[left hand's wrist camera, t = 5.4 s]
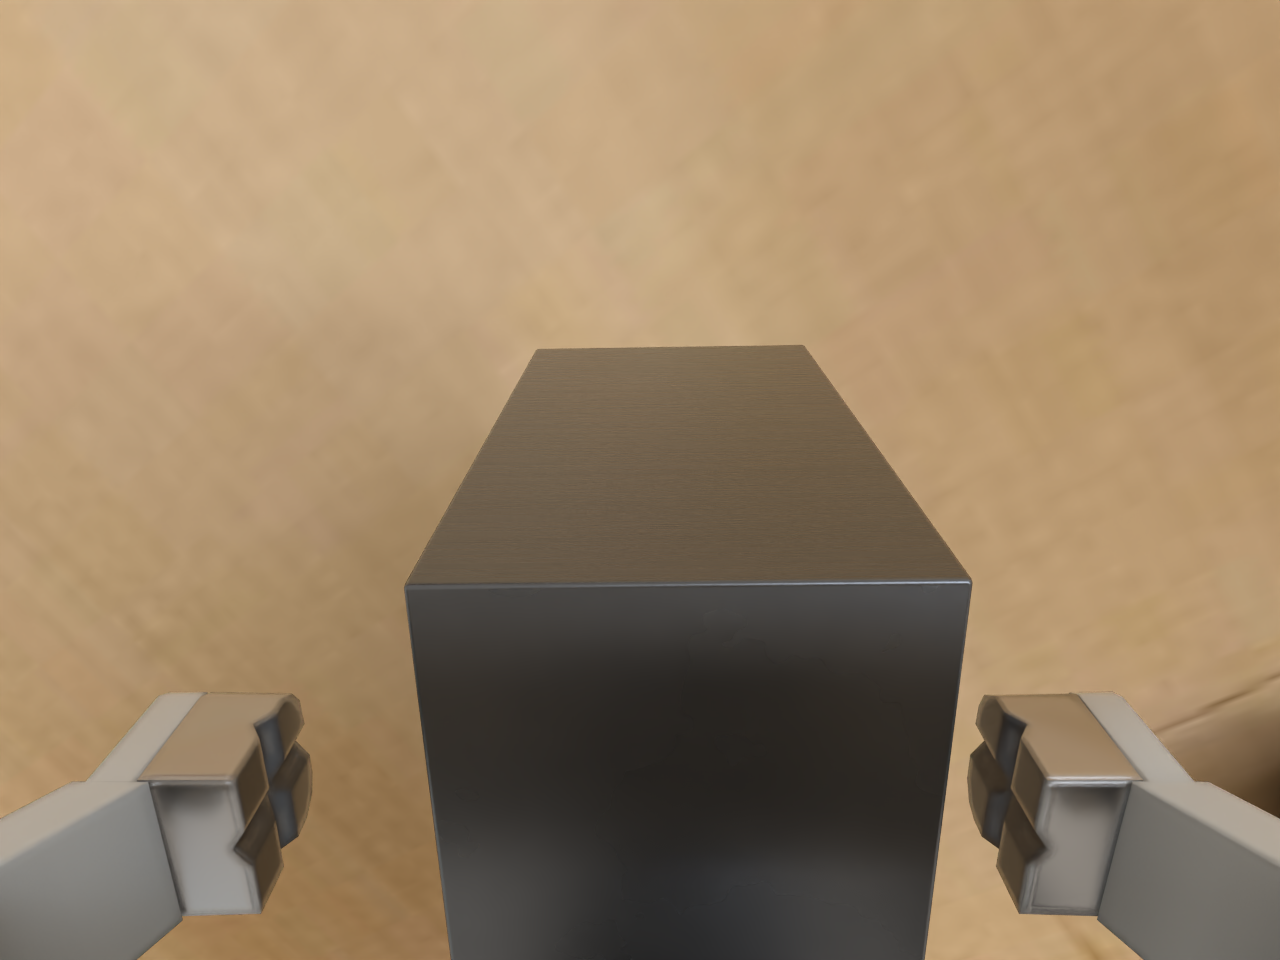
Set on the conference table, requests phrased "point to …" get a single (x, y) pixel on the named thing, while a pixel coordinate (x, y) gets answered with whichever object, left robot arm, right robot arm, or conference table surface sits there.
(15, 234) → the conference table surface
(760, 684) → the bar
